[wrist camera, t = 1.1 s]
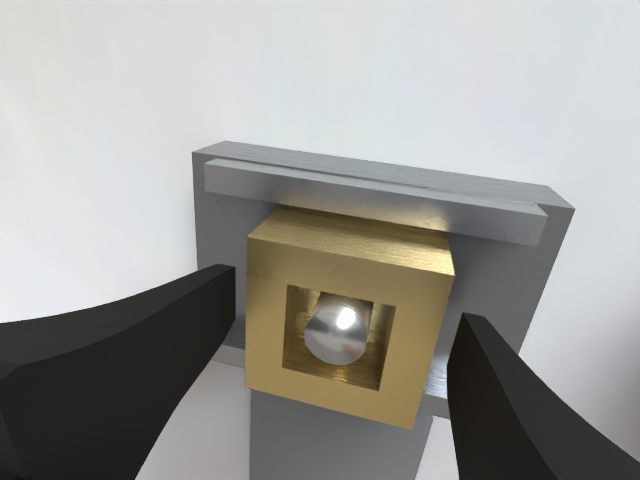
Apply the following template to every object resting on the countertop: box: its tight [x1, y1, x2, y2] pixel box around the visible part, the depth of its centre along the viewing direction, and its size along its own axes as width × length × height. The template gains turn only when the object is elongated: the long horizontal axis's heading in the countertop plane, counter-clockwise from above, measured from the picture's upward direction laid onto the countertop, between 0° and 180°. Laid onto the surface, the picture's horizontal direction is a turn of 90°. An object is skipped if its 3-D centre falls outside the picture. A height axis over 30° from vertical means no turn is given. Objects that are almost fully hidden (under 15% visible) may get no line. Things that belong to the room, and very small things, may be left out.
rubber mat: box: [250, 389, 433, 480], centre depth 20 cm, size 9×9×1 cm
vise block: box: [192, 141, 575, 419], centre depth 13 cm, size 12×8×6 cm, turn 85°
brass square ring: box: [245, 204, 455, 430], centre depth 12 cm, size 5×5×3 cm
